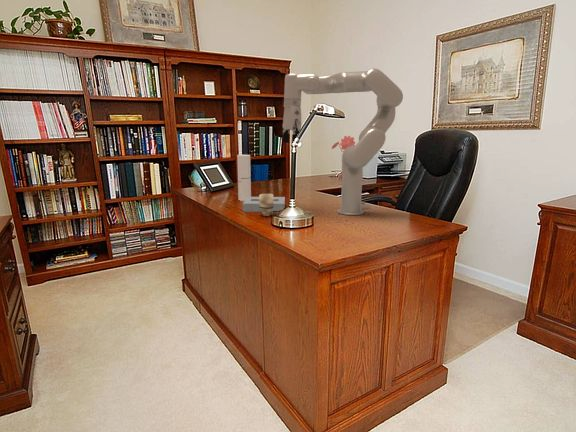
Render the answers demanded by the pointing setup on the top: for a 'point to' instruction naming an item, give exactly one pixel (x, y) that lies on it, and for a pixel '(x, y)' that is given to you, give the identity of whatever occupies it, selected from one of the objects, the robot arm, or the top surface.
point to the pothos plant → (345, 145)
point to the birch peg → (266, 203)
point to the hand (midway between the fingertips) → (290, 143)
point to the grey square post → (244, 177)
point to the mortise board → (253, 204)
